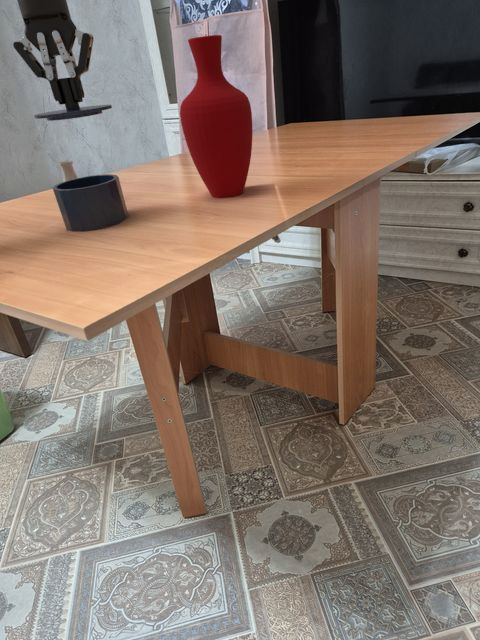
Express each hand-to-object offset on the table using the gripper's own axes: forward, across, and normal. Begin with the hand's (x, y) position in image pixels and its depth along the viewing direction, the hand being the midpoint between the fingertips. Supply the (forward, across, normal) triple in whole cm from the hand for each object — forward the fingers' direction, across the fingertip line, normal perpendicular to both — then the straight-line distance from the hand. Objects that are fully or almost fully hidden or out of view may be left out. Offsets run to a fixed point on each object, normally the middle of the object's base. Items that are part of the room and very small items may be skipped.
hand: (71, 102), depth 84 cm
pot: (+22, +2, -1) cm, 22 cm away
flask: (+23, +12, -21) cm, 33 cm away
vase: (+22, -25, -11) cm, 35 cm away
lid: (+2, 0, 0) cm, 2 cm away
